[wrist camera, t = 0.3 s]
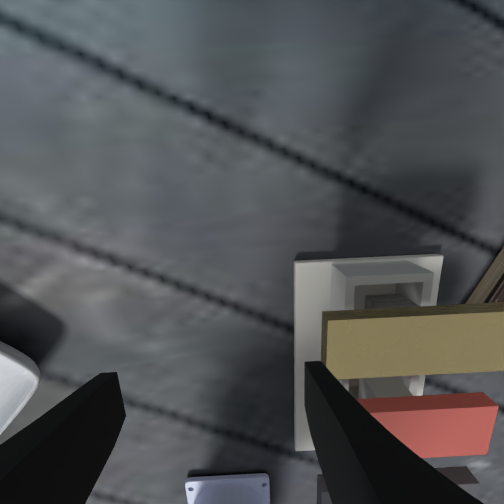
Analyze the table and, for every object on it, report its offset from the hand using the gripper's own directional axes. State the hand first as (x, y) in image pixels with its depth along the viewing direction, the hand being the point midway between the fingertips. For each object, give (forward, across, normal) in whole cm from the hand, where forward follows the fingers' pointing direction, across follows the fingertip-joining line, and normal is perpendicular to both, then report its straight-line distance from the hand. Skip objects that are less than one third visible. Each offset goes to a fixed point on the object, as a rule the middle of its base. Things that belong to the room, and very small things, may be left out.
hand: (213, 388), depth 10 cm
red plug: (+7, -10, +7) cm, 15 cm away
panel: (+10, -10, +7) cm, 16 cm away
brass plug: (+7, -10, +1) cm, 13 cm away
